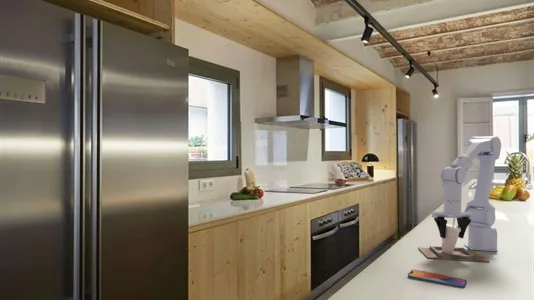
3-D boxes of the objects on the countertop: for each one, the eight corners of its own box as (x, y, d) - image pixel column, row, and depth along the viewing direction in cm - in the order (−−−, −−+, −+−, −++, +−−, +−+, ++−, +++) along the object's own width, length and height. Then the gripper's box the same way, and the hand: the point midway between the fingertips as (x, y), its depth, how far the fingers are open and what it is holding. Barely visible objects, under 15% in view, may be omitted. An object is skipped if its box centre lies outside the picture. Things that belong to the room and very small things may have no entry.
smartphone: (464, 290, 104) (464, 287, 104) (407, 278, 112) (407, 275, 112) (466, 283, 110) (466, 279, 110) (412, 272, 118) (412, 268, 118)
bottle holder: (473, 251, 144) (473, 247, 144) (489, 262, 130) (489, 258, 130) (417, 248, 146) (418, 244, 146) (427, 258, 133) (427, 254, 133)
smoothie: (460, 256, 136) (466, 218, 135) (442, 254, 136) (449, 216, 135) (451, 249, 143) (457, 213, 141) (434, 247, 142) (440, 211, 141)
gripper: (465, 199, 143) (464, 235, 143) (427, 198, 142) (427, 235, 142) (476, 201, 136) (476, 239, 136) (437, 201, 135) (436, 239, 134)
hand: (451, 237), depth 138 cm, fingers closed on smoothie, 6 cm apart
